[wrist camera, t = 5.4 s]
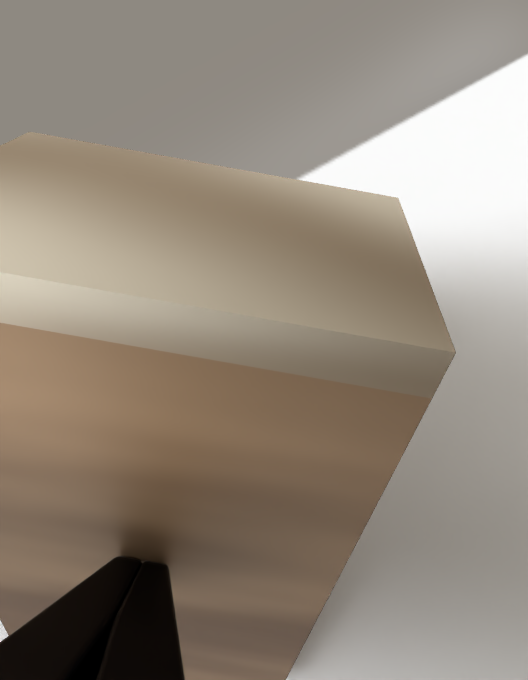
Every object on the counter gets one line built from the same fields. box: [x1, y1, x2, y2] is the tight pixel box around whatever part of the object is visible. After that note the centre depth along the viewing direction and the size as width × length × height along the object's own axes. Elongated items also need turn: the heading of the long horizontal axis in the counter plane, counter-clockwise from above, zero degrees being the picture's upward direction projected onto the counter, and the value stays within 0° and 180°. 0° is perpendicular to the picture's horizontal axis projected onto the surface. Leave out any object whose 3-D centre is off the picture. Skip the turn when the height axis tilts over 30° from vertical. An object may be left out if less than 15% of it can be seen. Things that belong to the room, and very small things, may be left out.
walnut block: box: [0, 132, 456, 680], centre depth 9 cm, size 4×6×12 cm, turn 81°
